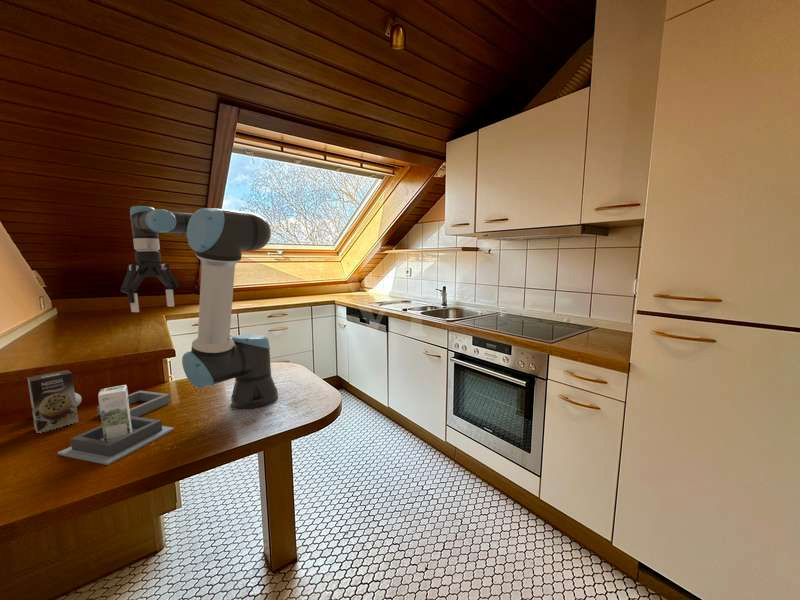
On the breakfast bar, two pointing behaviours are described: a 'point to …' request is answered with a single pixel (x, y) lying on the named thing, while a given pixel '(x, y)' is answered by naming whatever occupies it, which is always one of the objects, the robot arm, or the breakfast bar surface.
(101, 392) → the syrup box
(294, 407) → the breakfast bar surface
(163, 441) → the breakfast bar surface
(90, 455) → the gray flanged tray
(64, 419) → the dessert mix box
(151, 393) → the gray open tray
